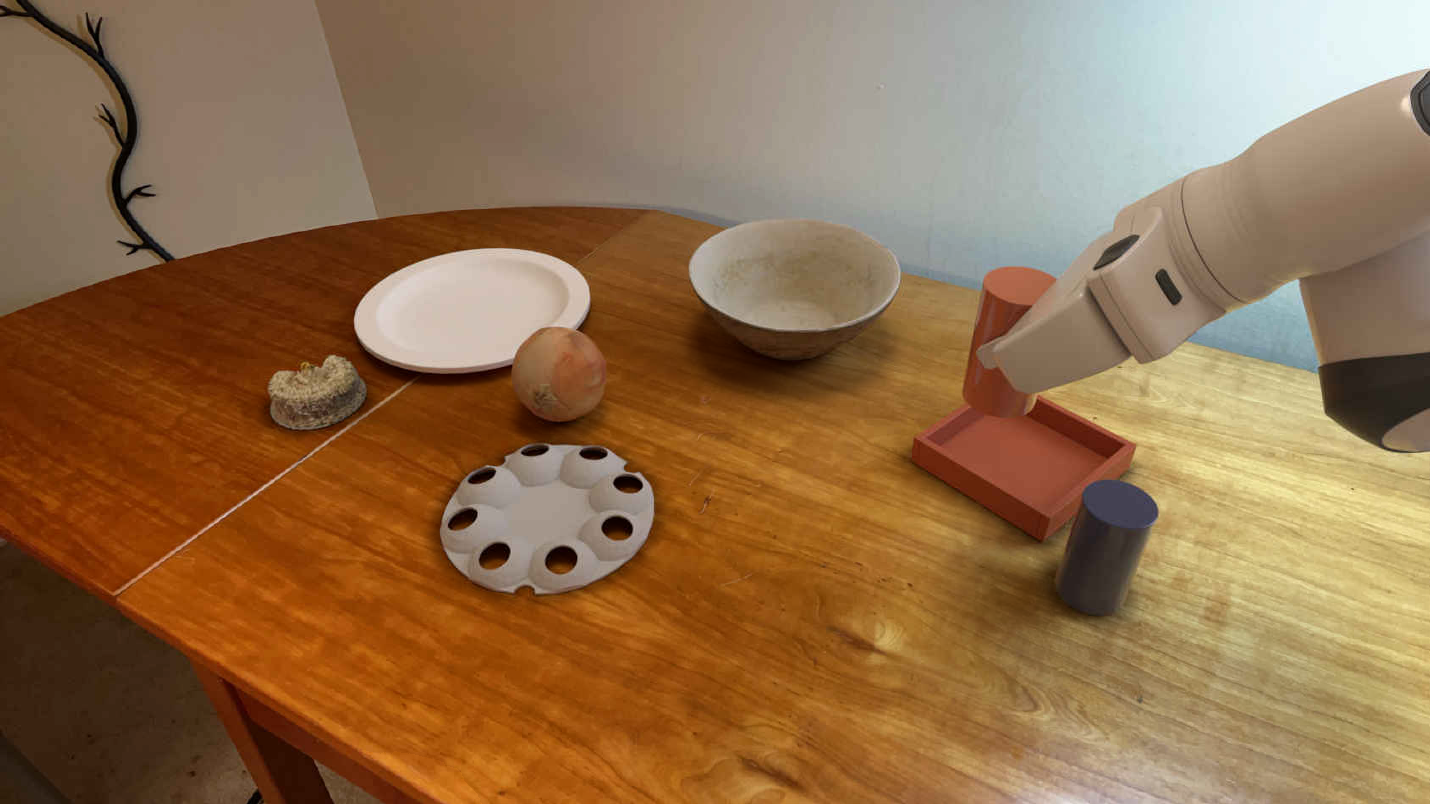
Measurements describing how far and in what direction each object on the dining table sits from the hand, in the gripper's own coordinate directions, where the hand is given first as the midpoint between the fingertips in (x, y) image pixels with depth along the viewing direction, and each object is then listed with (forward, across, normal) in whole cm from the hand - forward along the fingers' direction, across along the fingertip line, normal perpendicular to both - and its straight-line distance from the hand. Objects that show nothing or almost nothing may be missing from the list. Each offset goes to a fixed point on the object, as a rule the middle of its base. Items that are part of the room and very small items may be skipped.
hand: (1003, 336), depth 68 cm
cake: (+61, +23, -30) cm, 72 cm away
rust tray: (+15, -13, +16) cm, 25 cm away
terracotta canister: (+3, 0, +4) cm, 5 cm away
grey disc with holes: (+38, +20, -7) cm, 43 cm away
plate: (+60, +1, -29) cm, 67 cm away
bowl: (+37, -18, -6) cm, 42 cm away
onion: (+45, +8, -14) cm, 48 cm away
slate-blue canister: (+7, -1, +23) cm, 24 cm away
